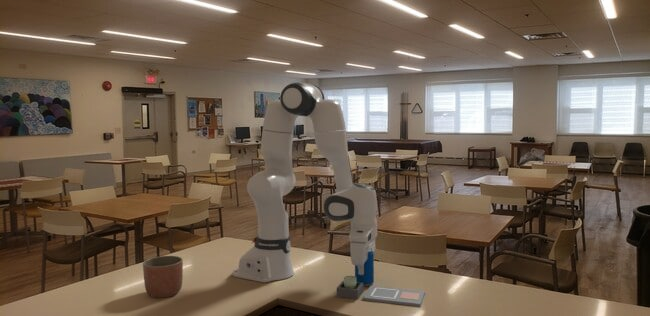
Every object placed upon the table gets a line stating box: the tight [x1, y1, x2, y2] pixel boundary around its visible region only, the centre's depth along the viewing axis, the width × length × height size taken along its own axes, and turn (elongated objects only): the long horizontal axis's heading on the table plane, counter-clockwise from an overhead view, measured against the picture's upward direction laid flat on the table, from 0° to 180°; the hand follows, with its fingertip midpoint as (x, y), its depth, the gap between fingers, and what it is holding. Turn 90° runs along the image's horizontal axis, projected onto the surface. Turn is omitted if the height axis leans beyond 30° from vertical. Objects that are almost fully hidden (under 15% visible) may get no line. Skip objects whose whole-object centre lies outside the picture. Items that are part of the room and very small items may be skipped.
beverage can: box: [354, 249, 375, 287], centre depth 163 cm, size 6×6×12 cm
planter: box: [142, 255, 184, 299], centre depth 156 cm, size 12×12×11 cm
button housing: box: [336, 280, 364, 300], centre depth 154 cm, size 7×7×3 cm
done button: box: [343, 275, 356, 289], centre depth 154 cm, size 4×4×4 cm
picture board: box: [362, 285, 426, 307], centre depth 151 cm, size 18×11×1 cm, turn 71°
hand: (364, 270), depth 163 cm, fingers closed on beverage can, 6 cm apart
